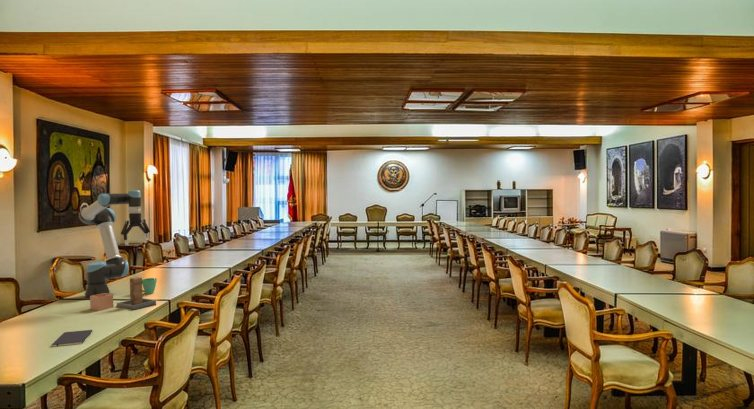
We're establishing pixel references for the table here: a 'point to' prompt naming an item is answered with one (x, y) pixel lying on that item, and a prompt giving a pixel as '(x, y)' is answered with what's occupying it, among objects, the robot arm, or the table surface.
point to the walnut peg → (136, 291)
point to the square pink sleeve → (101, 301)
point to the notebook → (72, 338)
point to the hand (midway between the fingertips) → (136, 243)
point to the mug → (149, 285)
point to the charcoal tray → (139, 306)
